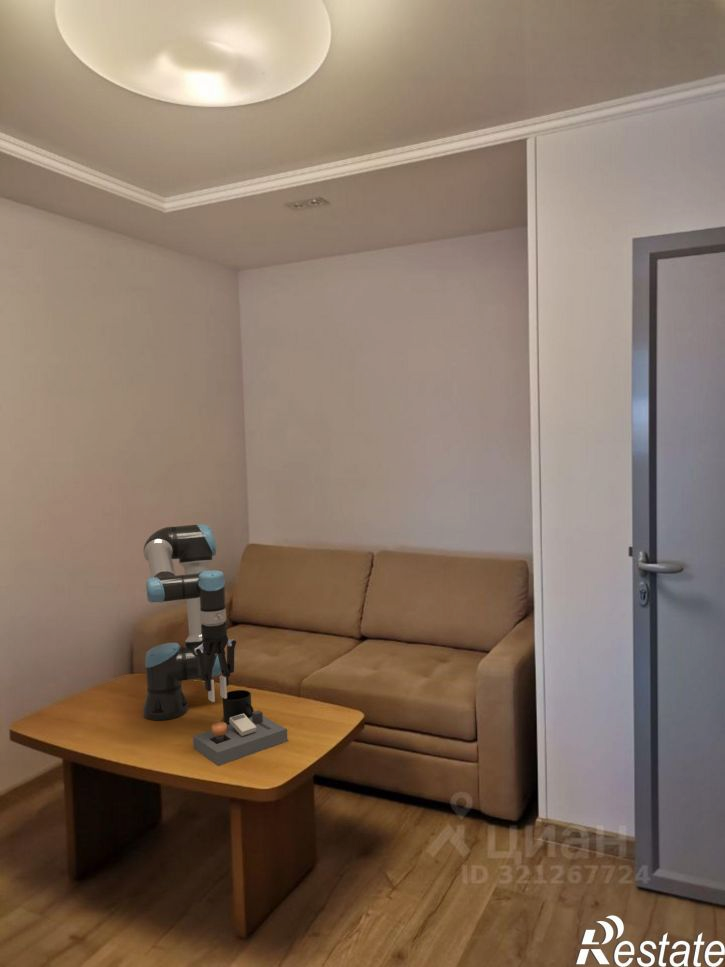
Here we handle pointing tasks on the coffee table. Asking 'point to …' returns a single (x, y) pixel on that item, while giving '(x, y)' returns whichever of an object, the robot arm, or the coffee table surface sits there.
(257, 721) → the slider
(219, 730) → the button
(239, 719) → the rocker
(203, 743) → the panel
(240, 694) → the mug
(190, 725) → the coffee table surface
